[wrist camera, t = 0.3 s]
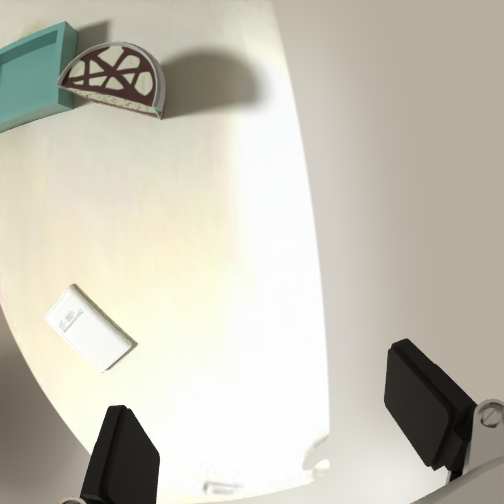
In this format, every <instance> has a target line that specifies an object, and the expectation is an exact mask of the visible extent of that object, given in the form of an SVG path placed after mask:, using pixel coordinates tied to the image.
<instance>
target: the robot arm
mask: <svg viewBox="0 0 504 504" xmlns="http://www.w3.org/2000/svg"><path fill="white" fill-rule="evenodd" d="M384 402H385V406H386V408H387V409H388V411H389V412H390V413H391V415H392V417H393V418H394V419H395V421H396V422H397V424H398V425H399V427H400V428H401V430H402V431H403V433H404V434H405V435H406V437H407V439H408V440H409V441H410V443H411V444H412V446H413V447H414V449H415V450H416V452H417V453H418V455H419V456H420V458H421V459H422V460H423V462H424V464H425V465H426V466H427V467H429V466H431V467H432V469H433V470H434V471H435V470H437V469H439V468H441V467H442V466H445V467H446V468H447V470H448V476H447V481H446V485H445V486H443V487H441V488H440V489H438V490H436V491H434V492H432V493H430V494H428V495H427V496H425V497H423V498H421V499H419V500H417V501H415V502H413V503H411V504H504V402H503V401H500V400H497V399H489V400H485V401H483V402H481V403H480V404H479V405H477V404H476V403H475V402H474V401H473V400H472V399H471V398H470V397H469V396H468V395H467V394H466V393H465V392H464V391H463V390H462V389H461V388H460V387H459V386H458V385H457V384H456V383H455V382H454V381H453V380H452V379H451V378H450V377H449V376H448V375H447V374H446V373H445V372H444V371H443V370H442V369H441V368H440V367H439V366H438V365H436V364H434V363H433V362H432V361H431V360H430V359H428V357H427V356H426V355H424V353H422V352H421V351H420V350H419V349H418V348H417V347H416V346H415V345H414V344H413V343H412V342H411V341H410V340H409V339H403V340H400V341H398V342H395V343H393V344H392V346H391V348H390V349H389V350H388V358H387V372H386V384H385V395H384ZM159 465H160V456H159V453H158V451H157V449H156V448H155V446H154V445H153V443H152V442H151V440H150V439H149V437H148V436H147V434H146V433H145V431H144V430H143V428H142V426H141V425H140V423H139V422H138V420H137V418H136V417H135V415H134V413H133V412H132V410H131V409H130V408H128V409H127V407H126V406H125V405H117V406H109V407H108V409H107V412H106V415H105V418H104V421H103V424H102V427H101V430H100V433H99V436H98V439H97V442H96V443H95V446H94V449H93V452H92V455H91V459H90V462H89V465H88V469H87V472H86V476H85V479H84V483H83V487H82V490H81V494H80V498H78V497H67V498H64V499H62V500H61V501H59V503H58V504H156V497H157V485H158V474H159Z"/></svg>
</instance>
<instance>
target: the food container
mask: <svg viewBox="0 0 504 504" xmlns="http://www.w3.org/2000/svg"><path fill="white" fill-rule="evenodd" d="M56 85H57V86H58V87H59V88H64V89H66V90H68V91H71V92H73V93H75V94H77V95H79V96H82V97H84V98H86V99H88V100H90V101H93V102H95V103H97V104H102V105H106V106H110V107H115V108H119V109H123V110H127V111H131V112H134V113H138V114H142V115H146V116H149V117H153V118H156V119H160V120H161V118H162V115H163V112H164V102H165V95H166V82H165V77H164V73H163V71H162V68H161V66H160V65H159V63H158V61H157V60H156V59H155V58H154V57H153V56H152V55H151V54H150V53H149V52H147V51H146V50H144V49H142V48H140V47H138V46H136V45H134V44H130V43H127V42H107V43H103V44H99V45H96V46H94V47H91V48H89V49H87V50H86V51H84V52H82V53H81V54H80V55H78V56H77V57H76V58H75V59H73V60H72V61H71V62H70V63H69V65H68V66H67V67H66V68H65V69H64V71H63V72H62V74H61V75H60V77H59V79H58V81H57V83H56Z"/></svg>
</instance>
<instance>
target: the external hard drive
mask: <svg viewBox="0 0 504 504" xmlns="http://www.w3.org/2000/svg"><path fill="white" fill-rule="evenodd" d="M44 319H45V320H46V321H47V322H48V323H49V324H50V325H51V326H52V327H53V328H54V329H55V330H56V331H57V332H58V333H59V334H60V335H61V336H62V337H63V338H64V339H65V340H66V341H67V342H68V343H69V344H70V345H71V346H72V347H73V348H74V349H75V350H76V351H77V352H78V353H79V354H80V355H82V356H83V357H84V358H85V359H86V360H87V361H88V362H89V363H90V364H92V365H93V366H94V367H95V368H96V369H97V370H99V371H100V372H101V373H103V372H104V371H105V370H106V369H107V368H108V367H110V366H111V365H112V364H113V363H114V362H115V361H116V360H118V359H119V358H120V357H121V356H122V355H123V354H125V353H126V352H127V351H128V350H129V349H130V348H131V347H132V345H133V343H131V342H130V341H129V340H128V339H127V338H126V337H125V336H124V335H122V334H121V333H120V332H119V331H118V330H117V329H116V328H115V327H114V326H113V325H112V324H111V323H110V322H108V321H107V320H106V319H105V318H104V317H103V316H102V315H101V314H100V313H99V312H98V311H97V310H96V309H95V308H94V307H93V306H92V305H91V304H90V303H89V302H88V301H87V300H86V299H85V298H84V297H83V296H82V295H81V294H80V293H79V292H78V291H77V289H76V288H75V287H74V286H73V285H72V284H71V285H70V286H69V287H68V288H67V289H66V291H65V292H64V293H63V294H62V296H61V297H60V298H59V299H58V301H57V302H56V303H55V304H54V306H53V307H52V308H51V309H50V311H49V312H48V313H47V315H46V316H45V317H44Z"/></svg>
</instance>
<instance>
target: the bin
mask: <svg viewBox="0 0 504 504" xmlns="http://www.w3.org/2000/svg"><path fill="white" fill-rule="evenodd" d="M77 37H78V32H77V31H76V30H74V29H73V28H72V27H71V26H70V25H69V24H68V23H67V22H66V21H64V22H62V23H59V24H56V25H53V26H51V27H48V28H46V29H43V30H41V31H38V32H36V33H33V34H31V35H29V36H27V37H24V38H22V39H20V40H18V41H16V42H14V43H12V44H10V45H8V46H6V47H4V48H2V49H0V133H1V132H4V131H7V130H9V129H12V128H15V127H17V126H20V125H23V124H26V123H29V122H32V121H35V120H38V119H41V118H44V117H48V116H51V115H54V114H58V113H61V112H65V111H68V110H72V109H73V92H71V91H68V90H66V89H64V88H59V87H58V86H57V85H56V83H57V81H58V79H59V77H60V75H61V74H62V72H63V71H64V69H65V68H66V67H67V66H68V65H69V63H70V62H71V61H72V60H73V59H75V56H76V46H77Z"/></svg>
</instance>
